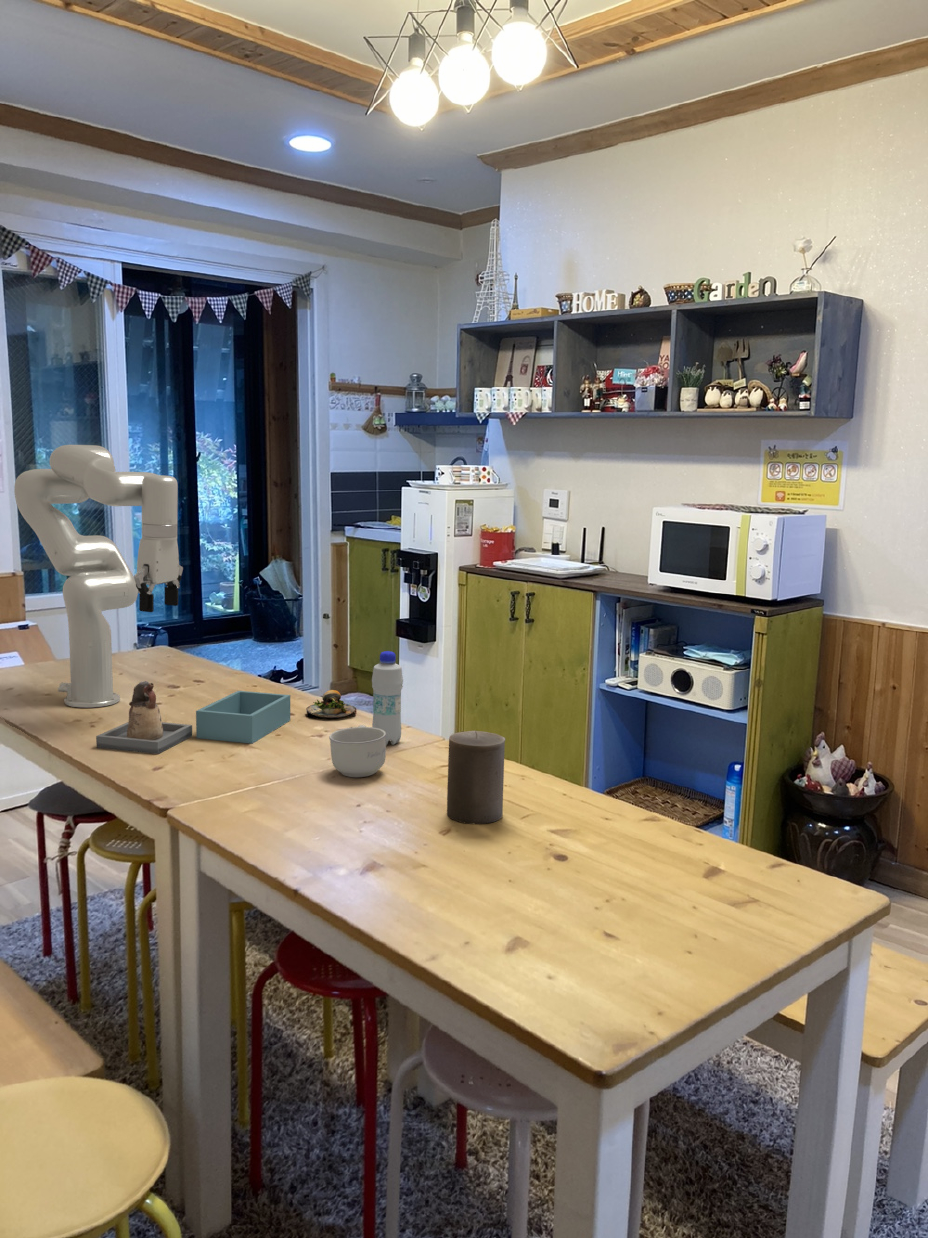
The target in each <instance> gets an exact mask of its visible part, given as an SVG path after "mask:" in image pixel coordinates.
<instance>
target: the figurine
mask: <svg viewBox="0 0 928 1238" xmlns="http://www.w3.org/2000/svg"><path fill="white" fill-rule="evenodd" d="M154 687H155V684H154V683H153V682H149V681H146V680H145V681H140V682H139V683H137V684H136V685H135V686H134V687H133V692H132V699H131V701H130V702H129V703H128V705H129V706H130V708H129V710H128V721H127V722H128V729H127V738H135V739H145V740H157V739H159V738H161V737H162V736H163V726H162V722H163V721H162V716H161V712H160V708H159V705H158V704H157V696H156V695H157V694H156V693H155V691H154V690H153V688H154Z"/></svg>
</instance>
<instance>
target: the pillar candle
mask: <svg viewBox="0 0 928 1238" xmlns="http://www.w3.org/2000/svg"><path fill="white" fill-rule="evenodd" d="M505 741H506V737H504V736H502V735H500V734H497V733H492V732H488V731H480V730H479V731H478V730H469V731H467V730H466V731H460V732H456V733H452V734H451V735H449V738H448V758H447V759H448V761H447V787H446V789H447V792H446V793H447V795H446V814H447V817H448V818H450V819H451V820H453V821H456V822H459V823H461V824H465V825H482V824H491V823H495V822H497V821H499V820H501V819H502V818H503V811H504V809H503V807H504V805H503V804H504V784H505V783H504V779H505V778H504V777H505V776H504V774H505V746H506V745H505V743H506V742H505Z"/></svg>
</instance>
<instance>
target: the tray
mask: <svg viewBox="0 0 928 1238" xmlns="http://www.w3.org/2000/svg"><path fill="white" fill-rule="evenodd" d="M128 722H129V721H127V722H125V723H123V724H120V725H119V726H116V727H114V728H111V729H110V730H107V731H105V732H102V733H100V734H98V735H96V737H95V739H96V742H95V743H96V745H95V746H96V747H95V748H97V749H105V750H114V751H123V752H133V753H141V754H150V755H151V754H152V755H160V754H161V753H164V752H165V751H167V750H169V749H171V748H173V747H175V746H177V745H178V744H180V743H182V742H185V741H186V740H188V739H190V738H192V737H193V724H187V723H185V724H184V723H175V722H163V721H162V726H163V736H162V737H161V738H159V739H157V740H145V739H135V738H127V729H128Z"/></svg>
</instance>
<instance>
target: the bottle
mask: <svg viewBox="0 0 928 1238" xmlns="http://www.w3.org/2000/svg"><path fill="white" fill-rule="evenodd" d="M396 659H397V658H396V653H395V652H393V651H390V650H386V651H381V653H380V654H379V663H377V664H375V665H374V666H373V670H372V677H371V684H372V685H371V687H372V689H373V692H372V695H373V696H372V697H373V699H372V725H371V727H373V728H378V729H381V730H384V731H385V733H386V736H385V742H386V746H387V745H388V743H389V741H390V744H391V745H392V746H393V745H395V744H398V743H399V742H400V740H401V738H402V719H401V718H402V716H401V715H402V714H401V713H402V712H401V711H402V710H401V709H402V689H403V687H404V686H403V683H404V679H403V678H404V677H403V670H402V666H401V665H399V664H397V663H396Z"/></svg>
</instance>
